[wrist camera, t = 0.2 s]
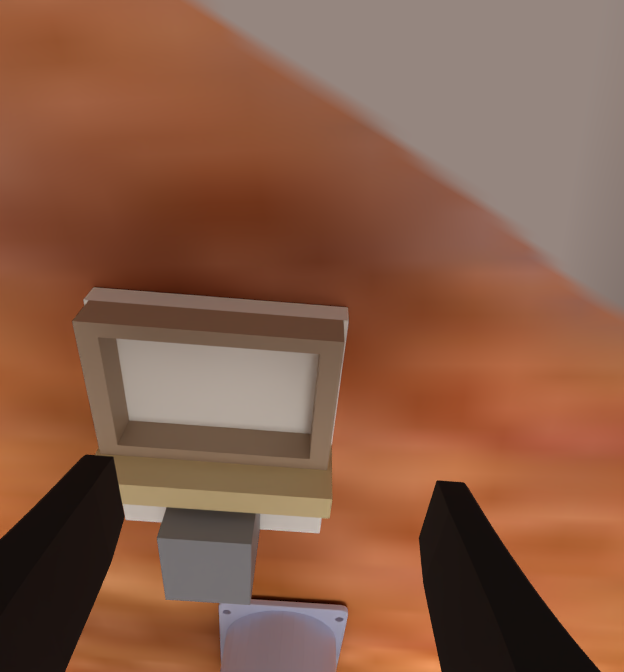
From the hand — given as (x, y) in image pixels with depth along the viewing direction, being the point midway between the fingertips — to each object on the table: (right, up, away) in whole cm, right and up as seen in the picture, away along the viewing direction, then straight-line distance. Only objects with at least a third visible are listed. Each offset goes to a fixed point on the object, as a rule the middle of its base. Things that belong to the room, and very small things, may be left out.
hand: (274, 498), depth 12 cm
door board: (-3, 0, +12) cm, 12 cm away
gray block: (-4, -4, +14) cm, 15 cm away
